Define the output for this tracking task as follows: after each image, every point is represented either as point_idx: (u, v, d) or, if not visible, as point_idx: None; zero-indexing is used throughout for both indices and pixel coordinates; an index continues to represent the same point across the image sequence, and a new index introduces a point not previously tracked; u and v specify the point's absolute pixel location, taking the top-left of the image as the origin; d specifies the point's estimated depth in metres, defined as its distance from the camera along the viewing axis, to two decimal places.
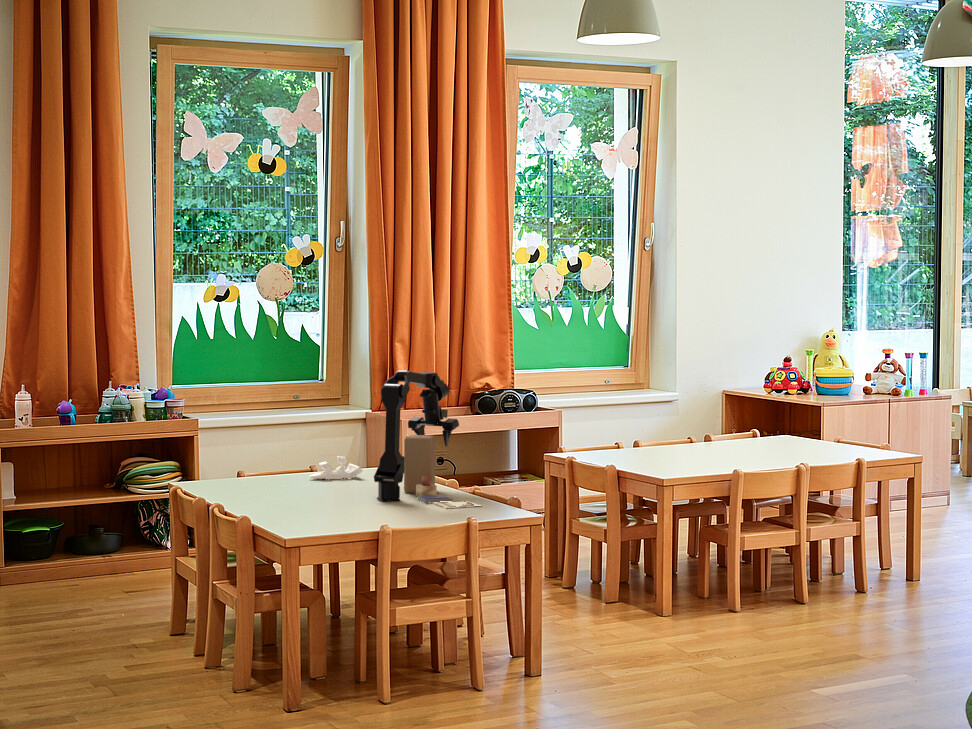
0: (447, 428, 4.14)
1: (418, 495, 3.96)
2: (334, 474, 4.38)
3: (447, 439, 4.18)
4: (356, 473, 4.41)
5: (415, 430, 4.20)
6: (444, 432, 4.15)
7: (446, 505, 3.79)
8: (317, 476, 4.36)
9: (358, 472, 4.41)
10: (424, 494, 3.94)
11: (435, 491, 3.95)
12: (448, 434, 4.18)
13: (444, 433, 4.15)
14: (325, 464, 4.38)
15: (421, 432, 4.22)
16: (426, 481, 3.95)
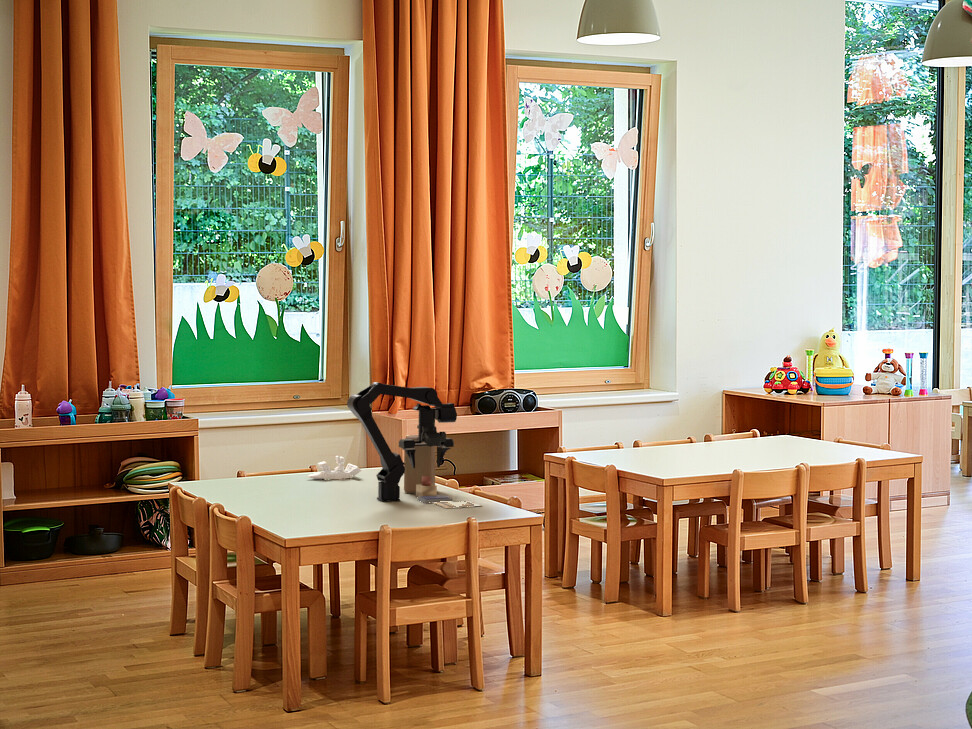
0: None
1: (418, 495, 3.96)
2: (333, 474, 4.38)
3: (410, 459, 3.95)
4: (355, 473, 4.41)
5: None
6: None
7: (446, 505, 3.79)
8: (316, 476, 4.36)
9: (357, 472, 4.40)
10: (424, 494, 3.94)
11: (435, 491, 3.95)
12: (411, 455, 3.94)
13: None
14: (324, 464, 4.38)
15: (438, 452, 3.99)
16: (426, 481, 3.95)
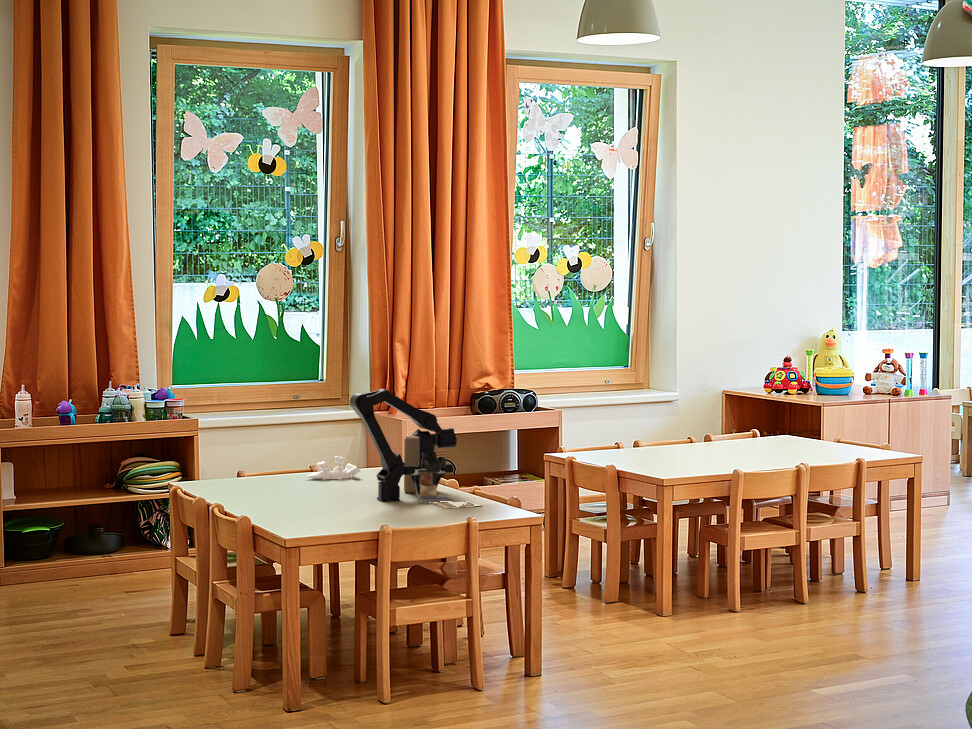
0: None
1: (418, 495, 3.96)
2: (332, 474, 4.38)
3: (414, 485, 3.96)
4: (354, 473, 4.41)
5: None
6: None
7: (446, 505, 3.79)
8: (315, 476, 4.37)
9: (356, 472, 4.41)
10: (424, 494, 3.94)
11: (435, 491, 3.95)
12: None
13: None
14: (323, 464, 4.38)
15: (434, 478, 3.99)
16: (426, 481, 3.95)
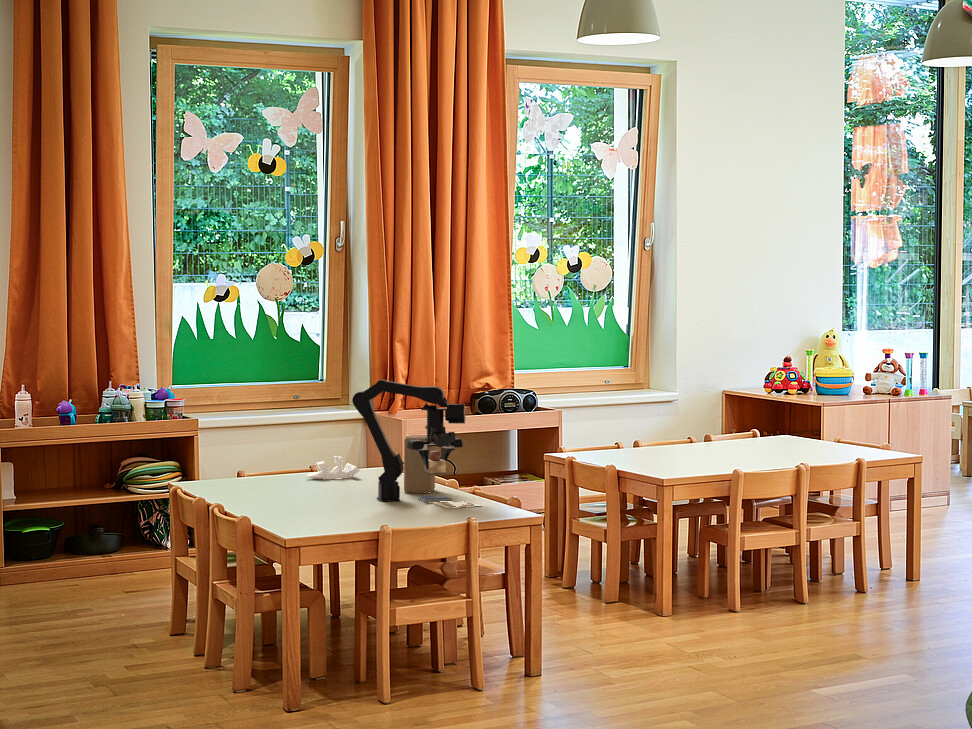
0: None
1: (427, 470, 3.89)
2: (331, 474, 4.39)
3: (423, 460, 3.89)
4: (353, 473, 4.41)
5: None
6: None
7: (446, 505, 3.79)
8: (314, 476, 4.37)
9: (355, 472, 4.41)
10: (433, 469, 3.87)
11: (444, 466, 3.88)
12: (424, 456, 3.88)
13: None
14: (322, 464, 4.38)
15: (442, 453, 3.92)
16: (435, 456, 3.88)
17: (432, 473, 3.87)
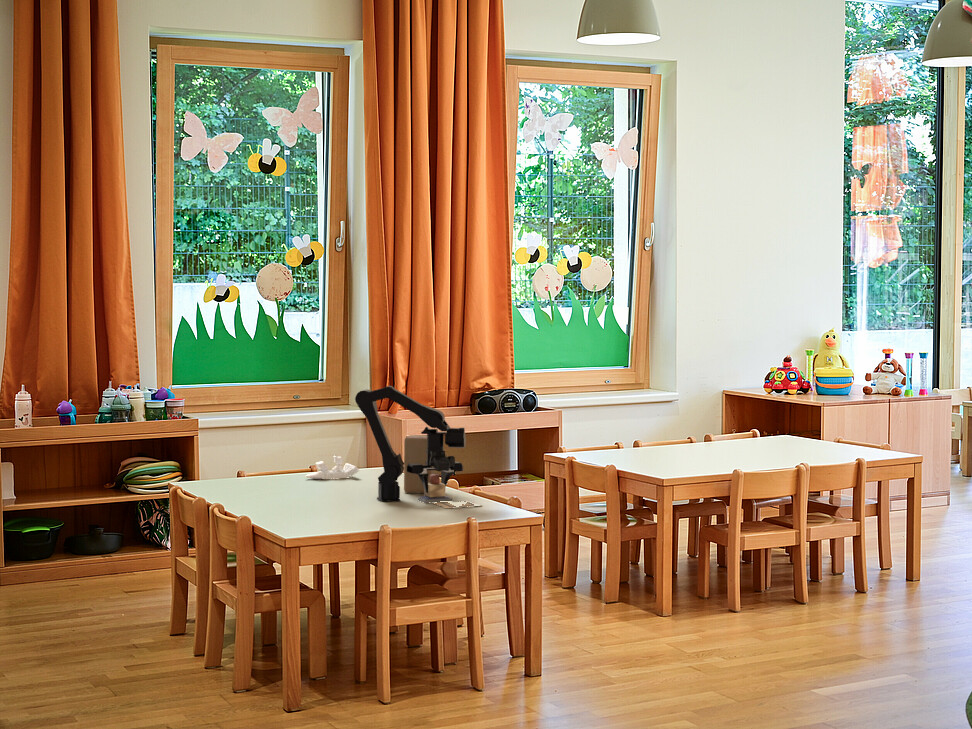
0: None
1: (426, 494, 3.89)
2: (330, 474, 4.39)
3: (423, 484, 3.89)
4: (352, 473, 4.42)
5: None
6: None
7: (446, 505, 3.79)
8: (313, 476, 4.37)
9: (354, 472, 4.41)
10: (433, 493, 3.86)
11: (444, 490, 3.88)
12: None
13: None
14: (321, 464, 4.38)
15: (442, 477, 3.92)
16: (434, 479, 3.88)
17: (431, 497, 3.86)
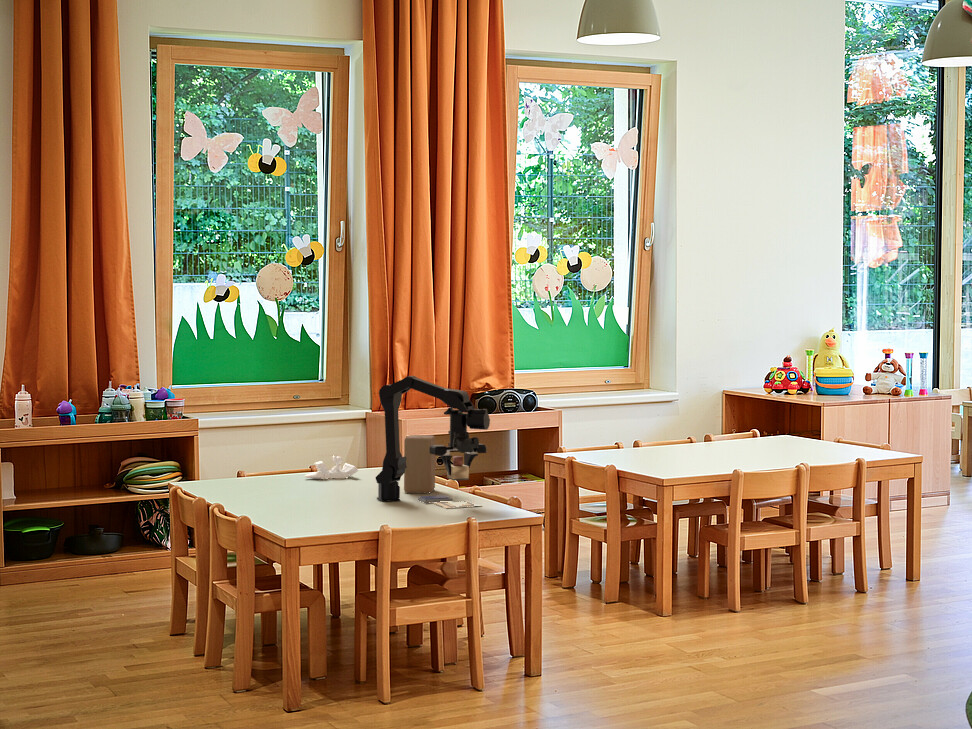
0: None
1: (449, 476, 3.81)
2: (330, 474, 4.39)
3: (446, 466, 3.80)
4: (352, 473, 4.42)
5: None
6: None
7: (446, 505, 3.79)
8: (313, 476, 4.37)
9: (354, 472, 4.41)
10: (456, 475, 3.78)
11: (467, 472, 3.80)
12: (447, 461, 3.79)
13: None
14: (321, 464, 4.38)
15: (465, 459, 3.83)
16: (458, 461, 3.80)
17: (455, 479, 3.78)
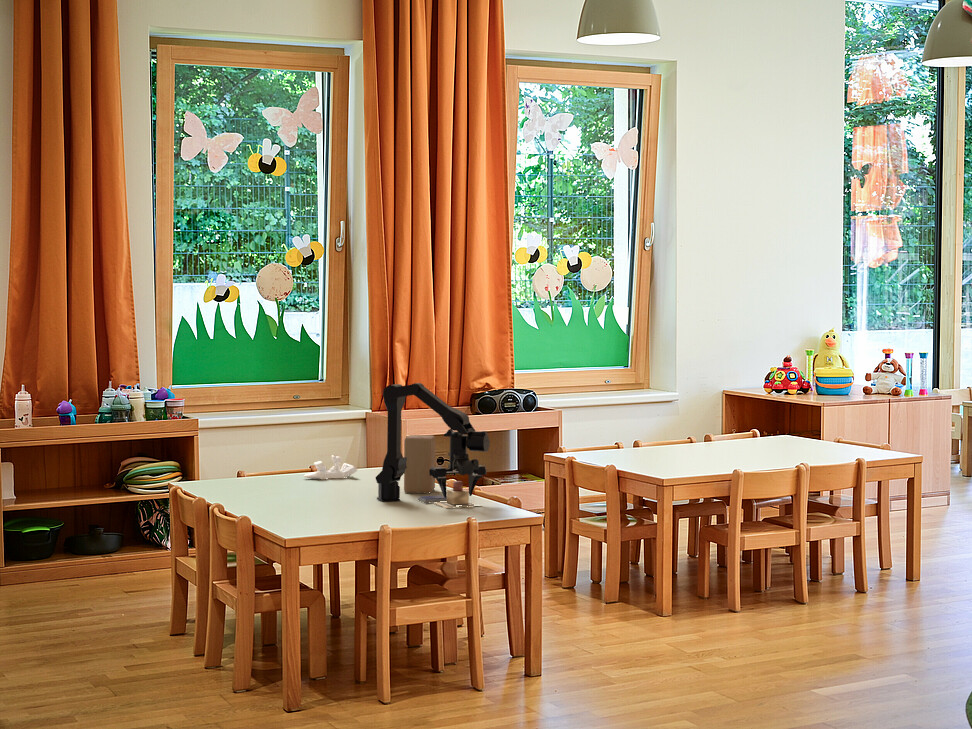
0: None
1: (449, 501, 3.81)
2: (329, 473, 4.40)
3: (441, 488, 3.80)
4: (351, 472, 4.42)
5: None
6: None
7: (446, 505, 3.79)
8: (312, 476, 4.37)
9: (353, 471, 4.42)
10: (456, 500, 3.79)
11: (467, 497, 3.80)
12: (442, 484, 3.79)
13: None
14: (320, 464, 4.39)
15: (470, 480, 3.84)
16: (458, 486, 3.80)
17: (455, 504, 3.79)
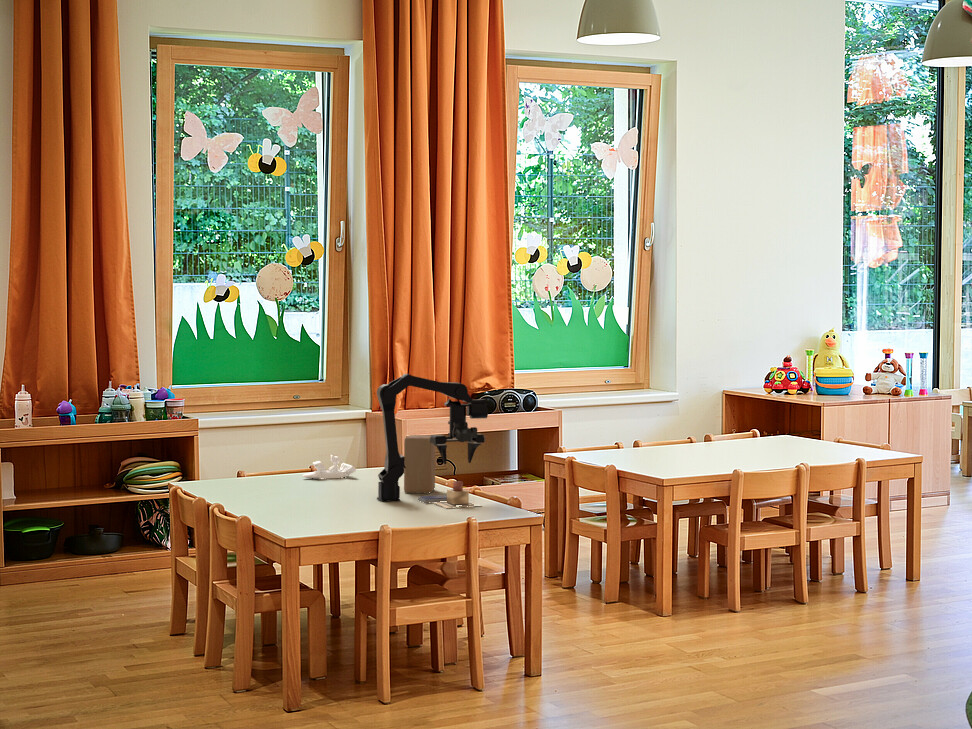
0: None
1: (449, 501, 3.81)
2: (328, 473, 4.40)
3: (441, 455, 3.95)
4: (349, 472, 4.43)
5: None
6: None
7: (446, 505, 3.79)
8: (311, 475, 4.38)
9: (351, 471, 4.42)
10: (456, 500, 3.79)
11: (467, 497, 3.80)
12: None
13: None
14: (319, 463, 4.39)
15: (469, 448, 4.00)
16: (458, 486, 3.80)
17: (455, 504, 3.79)
